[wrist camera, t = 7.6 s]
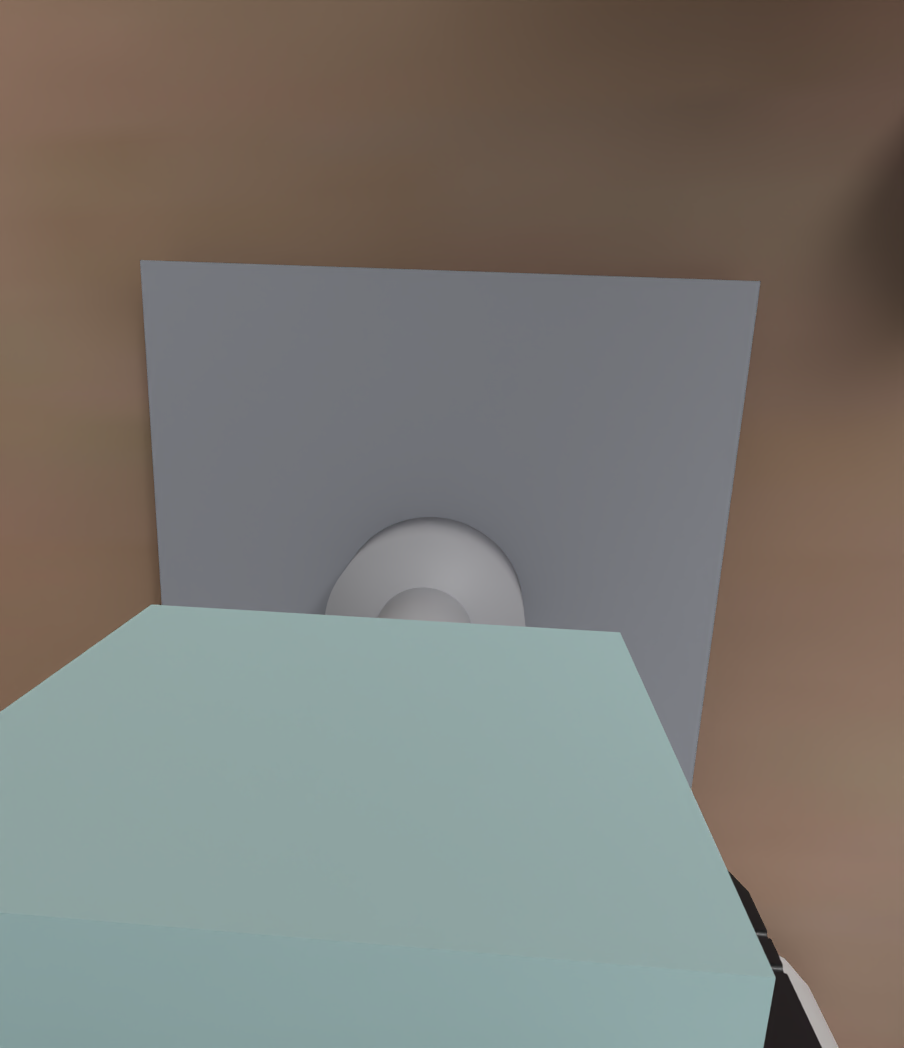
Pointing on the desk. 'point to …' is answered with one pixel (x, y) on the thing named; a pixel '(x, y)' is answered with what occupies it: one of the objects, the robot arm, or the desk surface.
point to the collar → (360, 845)
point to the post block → (453, 450)
